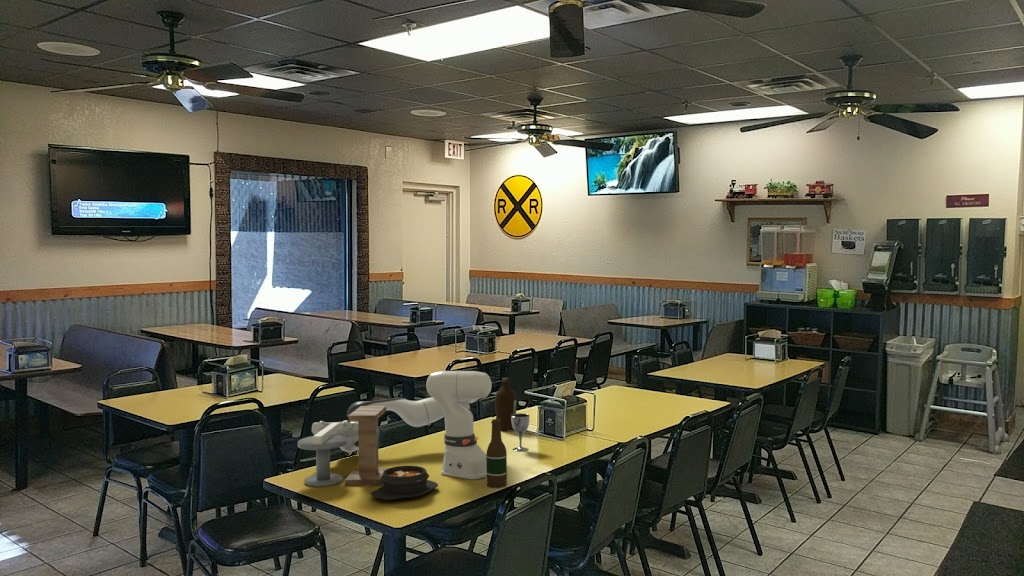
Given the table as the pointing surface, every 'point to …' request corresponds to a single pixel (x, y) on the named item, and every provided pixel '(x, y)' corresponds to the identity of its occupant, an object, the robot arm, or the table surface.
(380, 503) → the table surface
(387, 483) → the casserole
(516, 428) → the wine glass
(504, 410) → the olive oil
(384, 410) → the walnut stand
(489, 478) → the beer bottle
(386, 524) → the table surface
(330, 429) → the bar
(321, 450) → the cake stand
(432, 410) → the robot arm
